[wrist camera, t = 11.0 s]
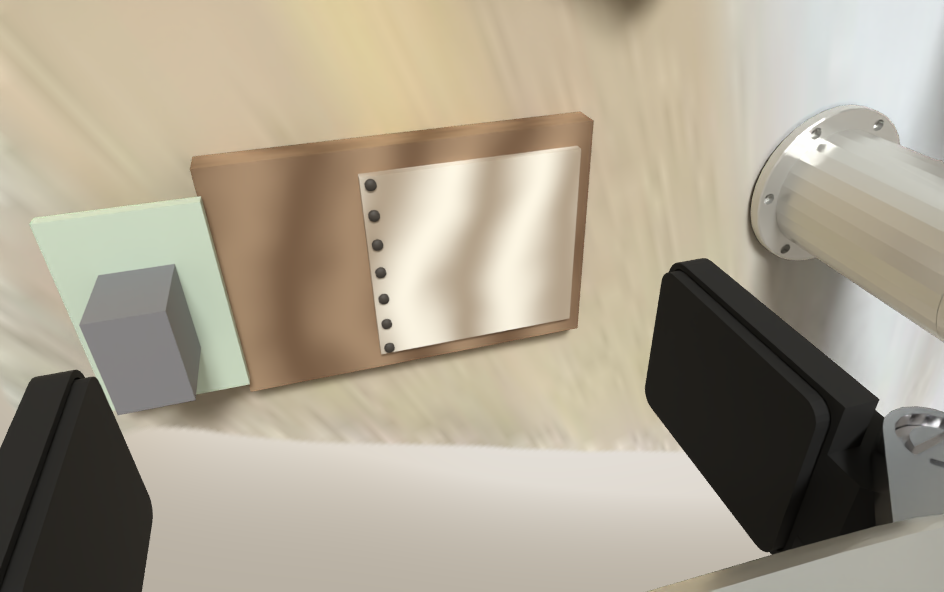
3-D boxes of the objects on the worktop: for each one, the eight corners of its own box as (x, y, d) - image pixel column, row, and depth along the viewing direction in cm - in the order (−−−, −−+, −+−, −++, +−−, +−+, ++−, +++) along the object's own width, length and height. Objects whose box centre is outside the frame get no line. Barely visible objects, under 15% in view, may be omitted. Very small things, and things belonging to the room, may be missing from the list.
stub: (200, 196, 36) (193, 243, 32) (249, 376, 43) (249, 436, 39) (33, 217, 34) (-1, 271, 30) (113, 402, 41) (95, 469, 37)
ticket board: (580, 111, 43) (599, 124, 40) (567, 313, 51) (581, 333, 49) (192, 156, 37) (188, 174, 35) (250, 373, 46) (250, 399, 44)
